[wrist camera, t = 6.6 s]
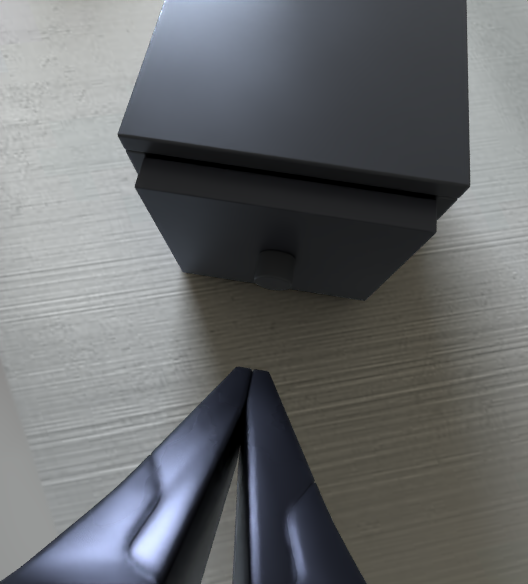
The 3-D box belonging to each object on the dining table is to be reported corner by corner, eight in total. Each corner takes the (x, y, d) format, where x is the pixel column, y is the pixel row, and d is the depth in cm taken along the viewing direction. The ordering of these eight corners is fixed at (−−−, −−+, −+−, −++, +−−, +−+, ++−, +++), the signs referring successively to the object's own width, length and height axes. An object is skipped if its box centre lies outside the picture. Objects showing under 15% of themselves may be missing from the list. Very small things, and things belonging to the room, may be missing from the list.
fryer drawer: (363, 323, 18) (436, 268, 11) (177, 293, 18) (123, 220, 11) (377, 132, 22) (440, -7, 14) (222, 110, 22) (204, -38, 15)
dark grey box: (372, 286, 19) (471, 187, 10) (180, 256, 20) (116, 134, 11) (384, 116, 23) (466, -67, 14) (221, 93, 23) (198, -100, 14)
